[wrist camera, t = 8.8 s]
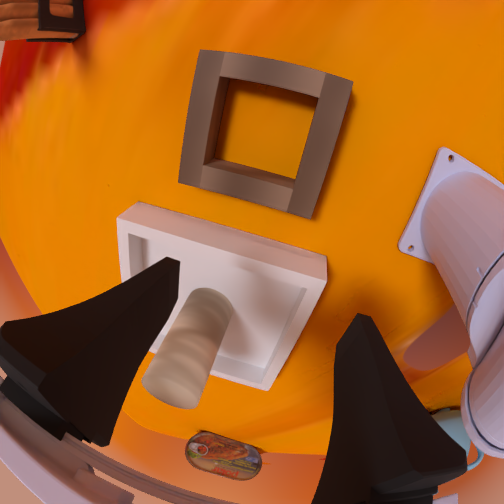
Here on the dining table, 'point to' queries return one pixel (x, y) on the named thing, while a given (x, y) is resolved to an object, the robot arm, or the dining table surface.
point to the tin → (223, 456)
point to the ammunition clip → (42, 20)
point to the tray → (230, 284)
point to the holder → (244, 177)
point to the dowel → (189, 349)
